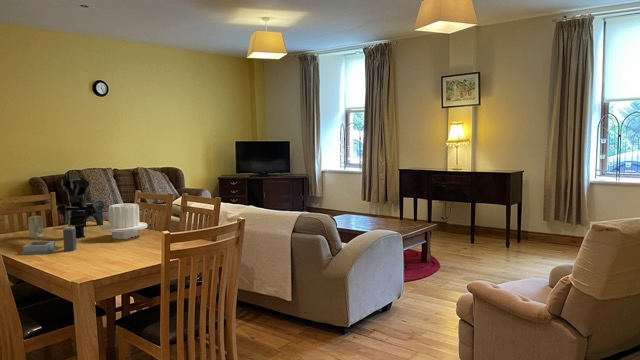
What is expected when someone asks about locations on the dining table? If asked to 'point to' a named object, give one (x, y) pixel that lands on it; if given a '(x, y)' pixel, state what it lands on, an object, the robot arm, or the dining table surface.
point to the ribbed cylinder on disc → (123, 221)
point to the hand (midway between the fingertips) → (73, 221)
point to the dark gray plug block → (69, 238)
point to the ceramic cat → (99, 206)
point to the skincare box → (35, 226)
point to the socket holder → (39, 248)
